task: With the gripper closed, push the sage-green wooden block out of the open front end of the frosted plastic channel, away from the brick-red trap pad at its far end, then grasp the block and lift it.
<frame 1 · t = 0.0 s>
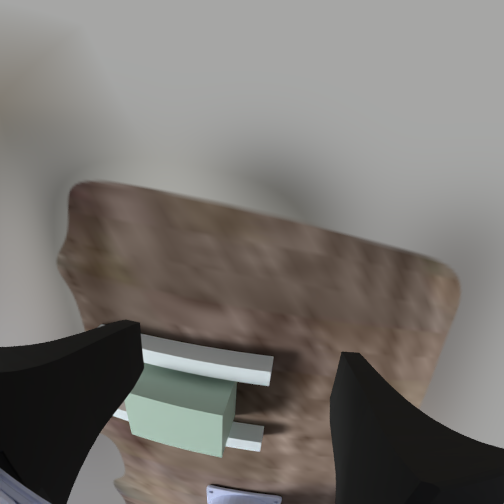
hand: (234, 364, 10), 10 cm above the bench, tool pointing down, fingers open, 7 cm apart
block: (193, 386, 23), on the bench
channel: (181, 385, 23), on the bench
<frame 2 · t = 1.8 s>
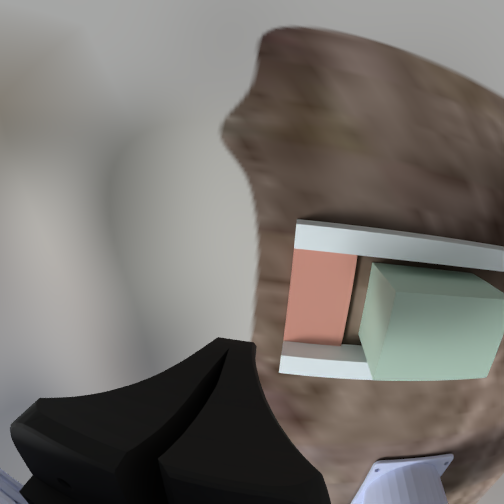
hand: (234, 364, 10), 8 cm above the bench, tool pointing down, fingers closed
block: (418, 303, 17), on the bench
channel: (404, 303, 17), on the bench
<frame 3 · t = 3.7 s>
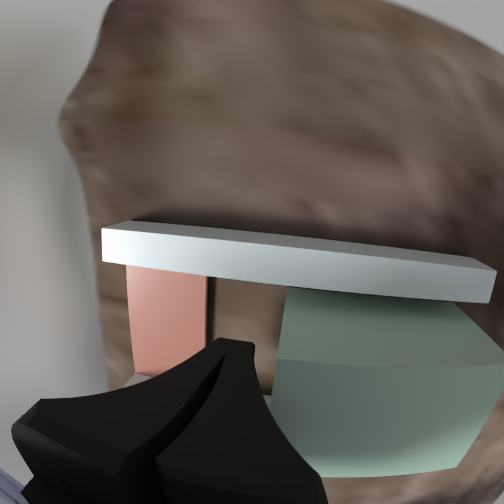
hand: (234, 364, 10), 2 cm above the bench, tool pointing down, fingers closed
block: (365, 347, 12), on the bench, touching gripper
channel: (292, 340, 12), on the bench
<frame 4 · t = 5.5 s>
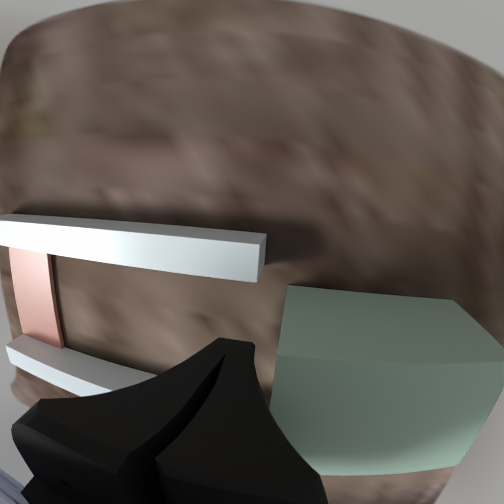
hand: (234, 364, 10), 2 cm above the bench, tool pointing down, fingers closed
block: (365, 345, 12), on the bench, touching gripper
channel: (107, 310, 13), on the bench
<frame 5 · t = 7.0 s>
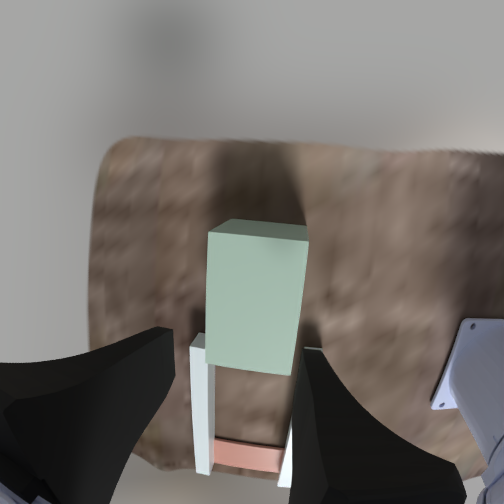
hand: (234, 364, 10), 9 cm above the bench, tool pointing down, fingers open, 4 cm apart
block: (264, 277, 19), on the bench
channel: (252, 416, 22), on the bench
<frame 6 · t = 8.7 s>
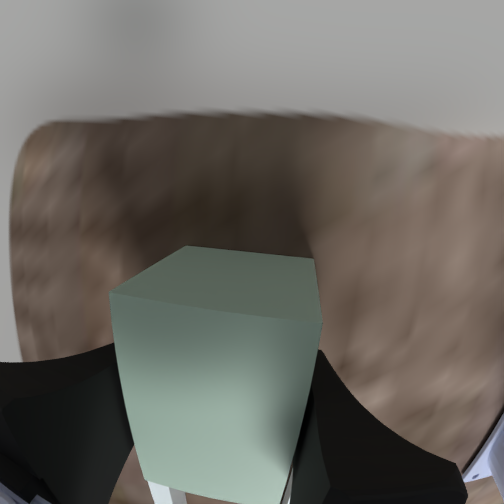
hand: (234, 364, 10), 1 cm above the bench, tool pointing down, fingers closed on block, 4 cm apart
block: (241, 341, 12), on the bench, touching gripper
channel: (232, 495, 14), on the bench
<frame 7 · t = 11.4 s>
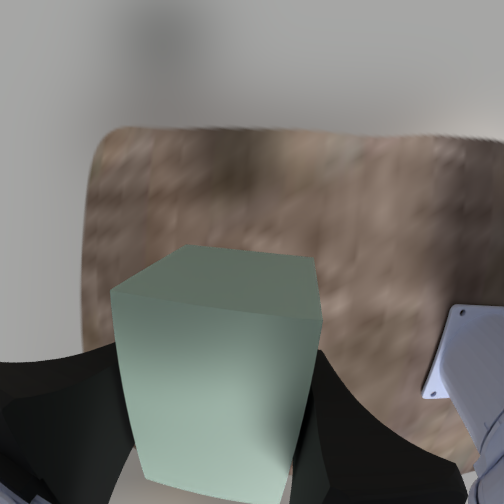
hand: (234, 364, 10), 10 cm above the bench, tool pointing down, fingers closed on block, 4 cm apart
block: (242, 340, 12), point 8 cm above the bench, touching gripper
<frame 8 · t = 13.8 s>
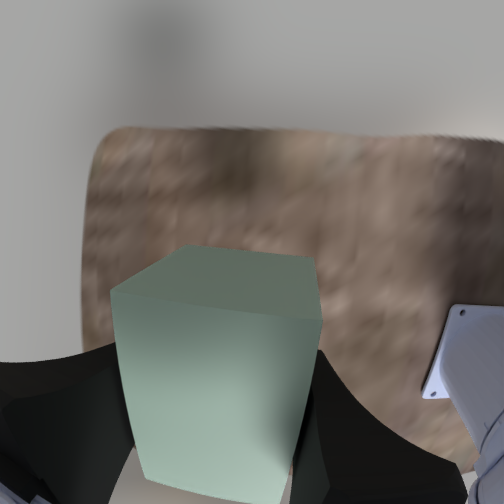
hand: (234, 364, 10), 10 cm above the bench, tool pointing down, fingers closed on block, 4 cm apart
block: (242, 340, 12), point 8 cm above the bench, touching gripper
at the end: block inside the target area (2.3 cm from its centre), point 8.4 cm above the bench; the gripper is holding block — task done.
